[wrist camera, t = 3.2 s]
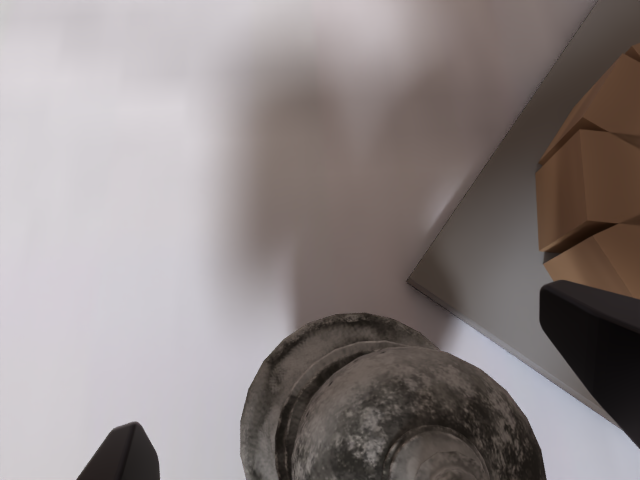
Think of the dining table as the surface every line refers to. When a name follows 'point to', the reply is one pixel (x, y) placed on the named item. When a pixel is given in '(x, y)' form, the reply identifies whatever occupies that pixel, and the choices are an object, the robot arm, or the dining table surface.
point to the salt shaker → (379, 410)
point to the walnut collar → (552, 200)
